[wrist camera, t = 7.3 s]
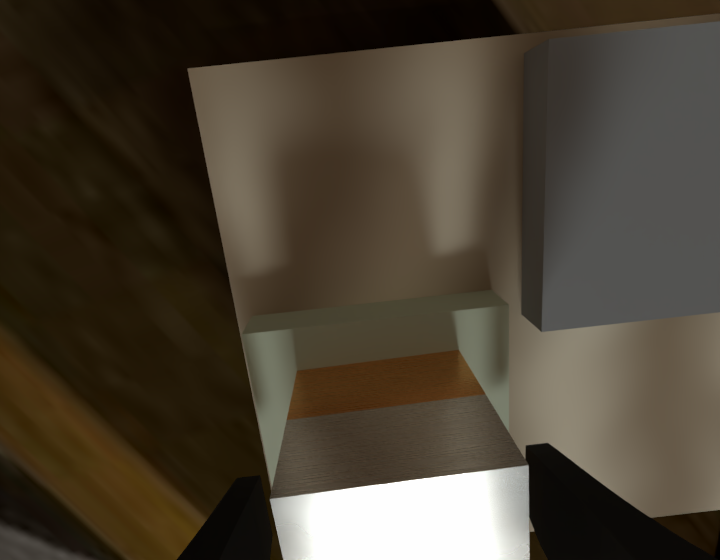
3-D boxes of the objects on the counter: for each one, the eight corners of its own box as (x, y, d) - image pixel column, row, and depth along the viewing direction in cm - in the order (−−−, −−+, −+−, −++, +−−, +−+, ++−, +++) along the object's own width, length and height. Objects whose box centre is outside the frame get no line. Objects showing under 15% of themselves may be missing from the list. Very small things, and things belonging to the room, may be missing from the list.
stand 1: (492, 289, 14) (509, 304, 12) (494, 485, 16) (508, 517, 15) (252, 315, 14) (241, 334, 12) (288, 508, 16) (283, 543, 15)
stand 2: (800, 24, 12) (862, 6, 11) (753, 288, 14) (799, 303, 13) (523, 53, 12) (548, 39, 10) (521, 314, 14) (541, 332, 13)
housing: (458, 349, 13) (528, 465, 8) (466, 482, 14) (530, 647, 9) (297, 370, 13) (270, 499, 8) (321, 501, 14) (310, 677, 9)
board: (784, 14, 13) (821, 2, 12) (706, 490, 18) (726, 508, 17) (199, 75, 13) (187, 68, 12) (288, 538, 18) (285, 559, 17)
